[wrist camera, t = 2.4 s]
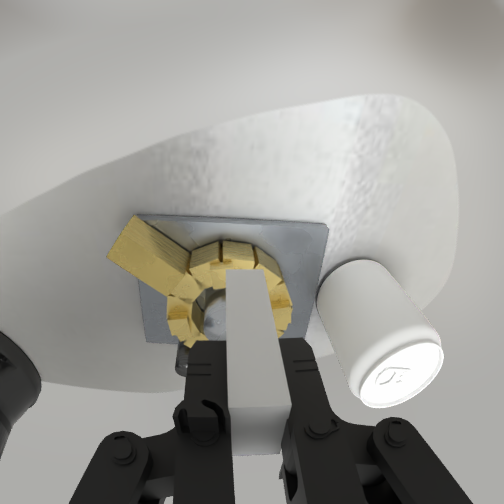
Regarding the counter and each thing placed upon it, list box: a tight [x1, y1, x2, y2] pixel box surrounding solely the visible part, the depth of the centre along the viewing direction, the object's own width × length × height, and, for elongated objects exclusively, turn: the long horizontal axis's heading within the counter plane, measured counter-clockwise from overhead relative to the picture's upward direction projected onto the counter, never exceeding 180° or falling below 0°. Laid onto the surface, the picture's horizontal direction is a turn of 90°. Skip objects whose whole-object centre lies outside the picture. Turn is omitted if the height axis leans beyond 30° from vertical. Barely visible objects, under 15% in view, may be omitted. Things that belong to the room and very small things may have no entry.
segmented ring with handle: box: [106, 215, 293, 348], centre depth 25 cm, size 16×10×4 cm, turn 50°
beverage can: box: [317, 260, 444, 408], centre depth 25 cm, size 8×8×12 cm
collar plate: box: [137, 215, 329, 377], centre depth 26 cm, size 16×13×6 cm
